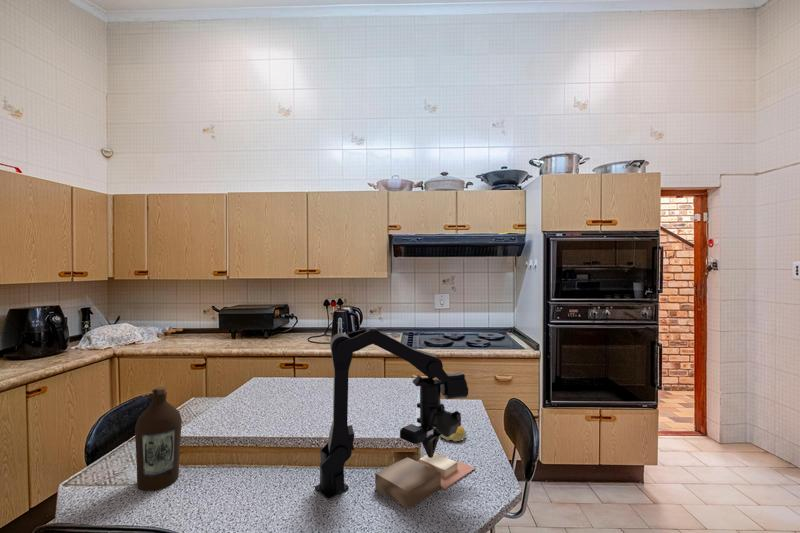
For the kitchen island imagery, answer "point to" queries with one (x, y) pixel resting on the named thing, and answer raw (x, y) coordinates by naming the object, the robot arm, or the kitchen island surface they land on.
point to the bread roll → (456, 435)
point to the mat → (456, 475)
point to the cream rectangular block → (440, 464)
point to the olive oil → (158, 443)
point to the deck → (408, 482)
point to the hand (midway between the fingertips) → (430, 457)
